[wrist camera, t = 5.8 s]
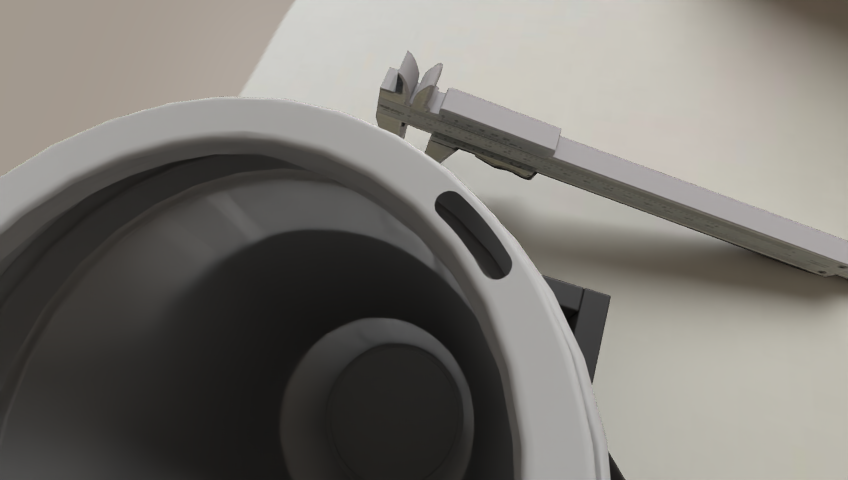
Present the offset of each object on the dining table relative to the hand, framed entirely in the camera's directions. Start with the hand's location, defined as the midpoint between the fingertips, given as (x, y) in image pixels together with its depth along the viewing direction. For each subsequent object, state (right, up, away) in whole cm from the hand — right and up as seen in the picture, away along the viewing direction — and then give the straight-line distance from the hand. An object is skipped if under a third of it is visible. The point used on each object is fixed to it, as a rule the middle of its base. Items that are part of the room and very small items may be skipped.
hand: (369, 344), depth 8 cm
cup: (0, -4, +6) cm, 7 cm away
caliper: (+9, +3, +11) cm, 15 cm away
